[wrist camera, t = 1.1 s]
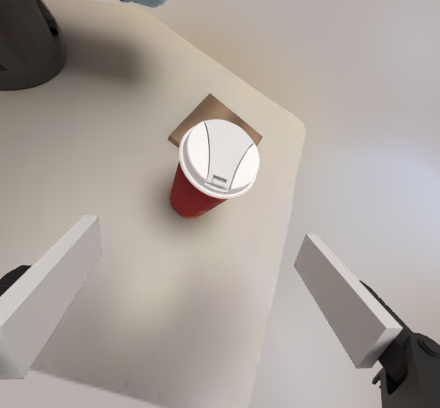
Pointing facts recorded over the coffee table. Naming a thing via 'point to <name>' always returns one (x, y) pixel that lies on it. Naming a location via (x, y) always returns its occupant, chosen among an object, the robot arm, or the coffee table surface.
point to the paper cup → (213, 167)
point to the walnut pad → (210, 111)
